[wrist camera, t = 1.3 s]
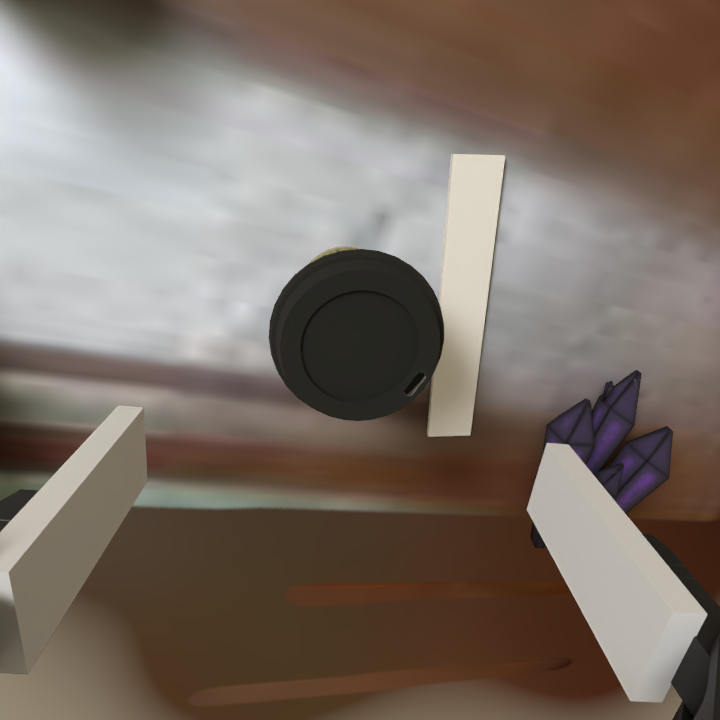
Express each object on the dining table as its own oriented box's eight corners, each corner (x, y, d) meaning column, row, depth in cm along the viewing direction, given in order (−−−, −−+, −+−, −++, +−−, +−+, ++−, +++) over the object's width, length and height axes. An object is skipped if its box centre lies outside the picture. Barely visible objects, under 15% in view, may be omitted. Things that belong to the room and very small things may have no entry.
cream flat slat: (426, 433, 45) (428, 436, 45) (450, 154, 36) (453, 154, 36) (468, 432, 46) (470, 435, 45) (502, 155, 37) (505, 155, 36)
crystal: (610, 590, 47) (738, 421, 38) (500, 560, 45) (607, 380, 37) (582, 534, 53) (686, 380, 45) (484, 508, 52) (573, 345, 44)
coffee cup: (326, 196, 37) (337, 213, 23) (426, 269, 39) (490, 325, 26) (258, 301, 39) (229, 374, 25) (357, 363, 42) (380, 460, 28)
